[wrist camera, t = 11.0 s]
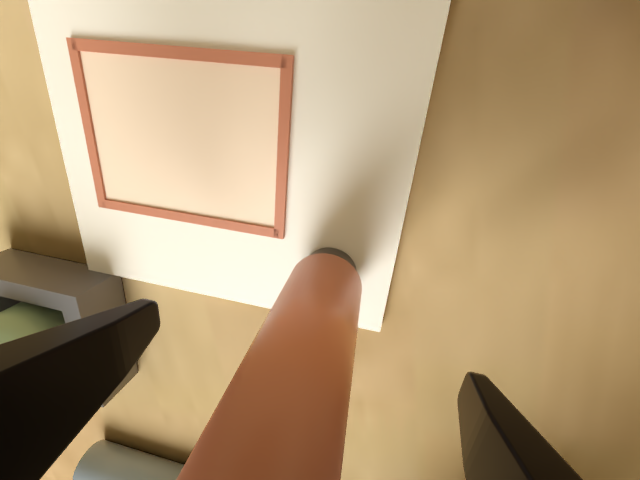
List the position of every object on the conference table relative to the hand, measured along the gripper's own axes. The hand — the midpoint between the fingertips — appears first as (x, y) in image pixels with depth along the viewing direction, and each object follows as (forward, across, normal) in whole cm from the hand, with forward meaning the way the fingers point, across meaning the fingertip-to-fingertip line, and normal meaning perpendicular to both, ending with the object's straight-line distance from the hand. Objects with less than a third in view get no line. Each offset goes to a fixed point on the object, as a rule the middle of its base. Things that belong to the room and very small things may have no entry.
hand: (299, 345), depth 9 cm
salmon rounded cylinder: (+5, 0, 0) cm, 5 cm away
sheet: (+5, +5, -4) cm, 8 cm away
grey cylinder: (+3, +10, +19) cm, 22 cm away
